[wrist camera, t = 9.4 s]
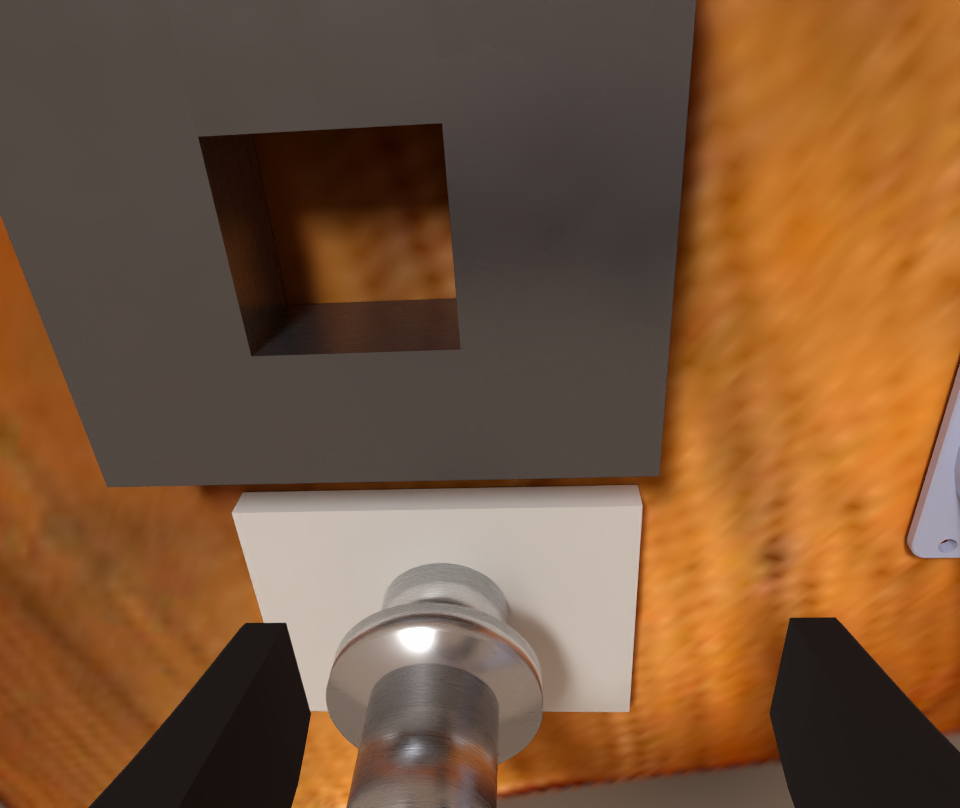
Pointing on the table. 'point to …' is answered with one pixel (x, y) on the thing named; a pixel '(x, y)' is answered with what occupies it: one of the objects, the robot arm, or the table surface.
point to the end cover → (434, 692)
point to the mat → (464, 541)
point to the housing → (357, 325)
